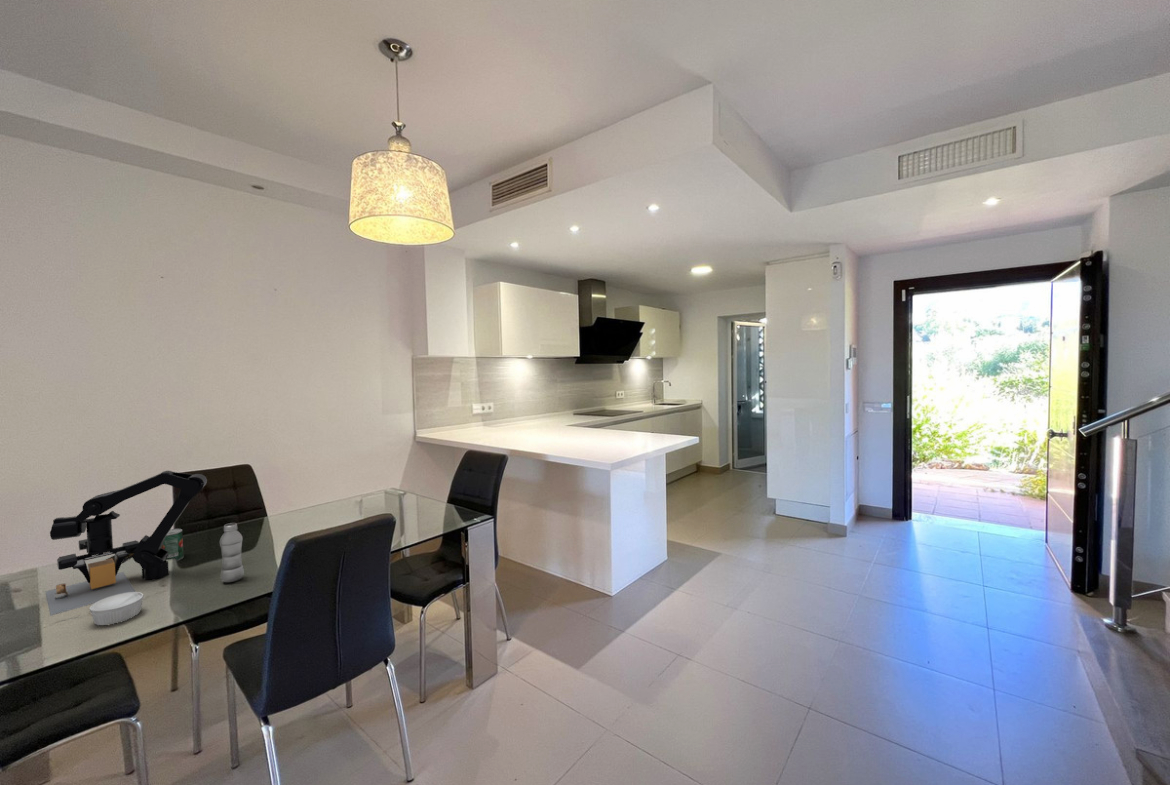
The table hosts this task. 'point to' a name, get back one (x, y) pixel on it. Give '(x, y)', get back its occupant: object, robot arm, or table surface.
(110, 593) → the flat grey board
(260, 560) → the table surface
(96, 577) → the orange cardboard-tone cube
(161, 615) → the table surface
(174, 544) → the canned tomato
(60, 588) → the copper silver stepped knob
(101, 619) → the ramekin
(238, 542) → the plastic bottle
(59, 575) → the table surface
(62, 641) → the table surface
